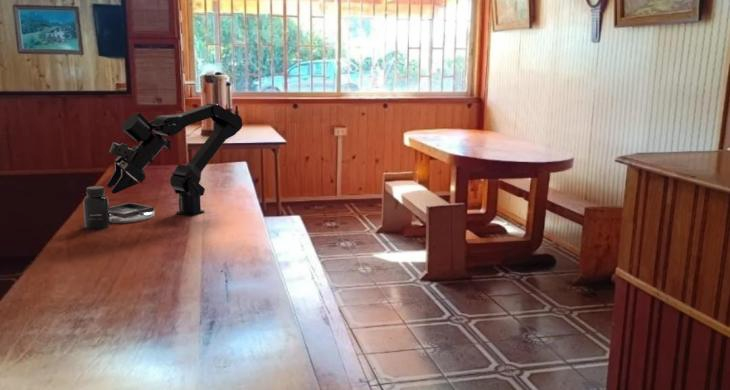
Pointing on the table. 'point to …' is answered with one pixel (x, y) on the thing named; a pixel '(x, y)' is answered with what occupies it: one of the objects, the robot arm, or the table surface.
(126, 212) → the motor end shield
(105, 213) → the supplement bottle
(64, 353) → the table surface
